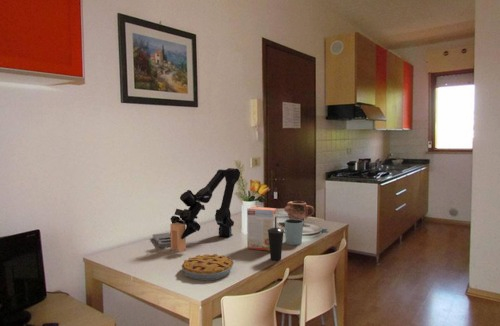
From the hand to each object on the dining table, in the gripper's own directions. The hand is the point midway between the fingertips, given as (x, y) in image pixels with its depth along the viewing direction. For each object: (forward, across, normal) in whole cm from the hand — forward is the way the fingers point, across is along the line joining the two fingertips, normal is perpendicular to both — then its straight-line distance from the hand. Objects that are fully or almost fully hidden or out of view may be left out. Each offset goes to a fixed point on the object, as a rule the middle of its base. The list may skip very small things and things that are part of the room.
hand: (175, 237), depth 184 cm
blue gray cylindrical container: (-30, +37, +40) cm, 62 cm away
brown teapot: (-57, +14, +67) cm, 89 cm away
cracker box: (-17, +31, +26) cm, 44 cm away
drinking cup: (-11, +46, +21) cm, 52 cm away
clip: (+4, 0, +6) cm, 7 cm away
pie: (+11, +34, -1) cm, 35 cm away
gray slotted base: (+1, -17, +8) cm, 19 cm away
